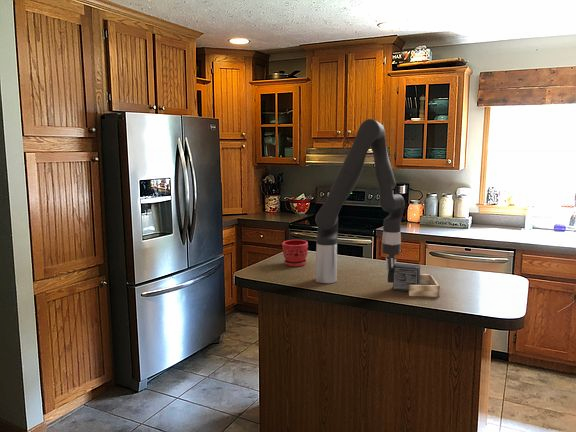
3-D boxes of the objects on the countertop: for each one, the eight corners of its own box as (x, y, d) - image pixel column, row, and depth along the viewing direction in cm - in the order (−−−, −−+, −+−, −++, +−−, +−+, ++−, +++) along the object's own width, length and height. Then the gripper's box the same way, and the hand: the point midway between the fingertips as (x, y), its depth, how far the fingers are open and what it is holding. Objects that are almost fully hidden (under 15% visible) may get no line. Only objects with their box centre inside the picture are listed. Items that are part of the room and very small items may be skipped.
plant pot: (281, 262, 245) (281, 239, 244) (305, 261, 247) (305, 239, 245) (283, 268, 233) (283, 244, 231) (309, 267, 234) (309, 244, 232)
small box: (420, 288, 198) (421, 264, 196) (418, 292, 192) (419, 268, 190) (395, 285, 202) (395, 262, 200) (392, 290, 196) (392, 265, 194)
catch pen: (409, 295, 188) (409, 285, 187) (403, 283, 205) (403, 273, 205) (439, 296, 187) (439, 286, 186) (431, 284, 204) (431, 274, 203)
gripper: (381, 238, 201) (380, 277, 204) (383, 245, 188) (382, 286, 191) (398, 239, 200) (397, 278, 203) (402, 245, 187) (401, 287, 190)
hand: (390, 282), depth 197 cm, fingers closed
